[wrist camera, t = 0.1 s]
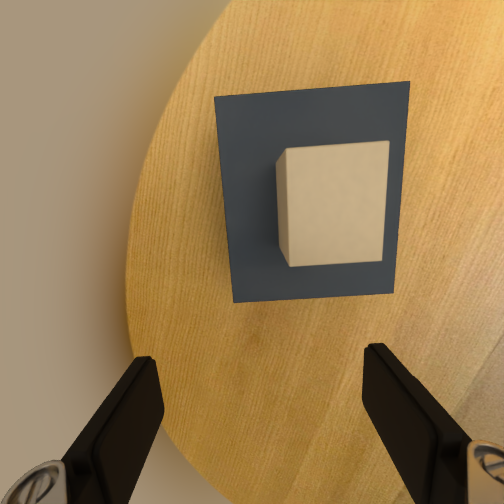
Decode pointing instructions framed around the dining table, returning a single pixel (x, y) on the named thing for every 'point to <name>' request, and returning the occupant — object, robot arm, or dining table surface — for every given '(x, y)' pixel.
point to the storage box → (265, 188)
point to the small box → (332, 203)
